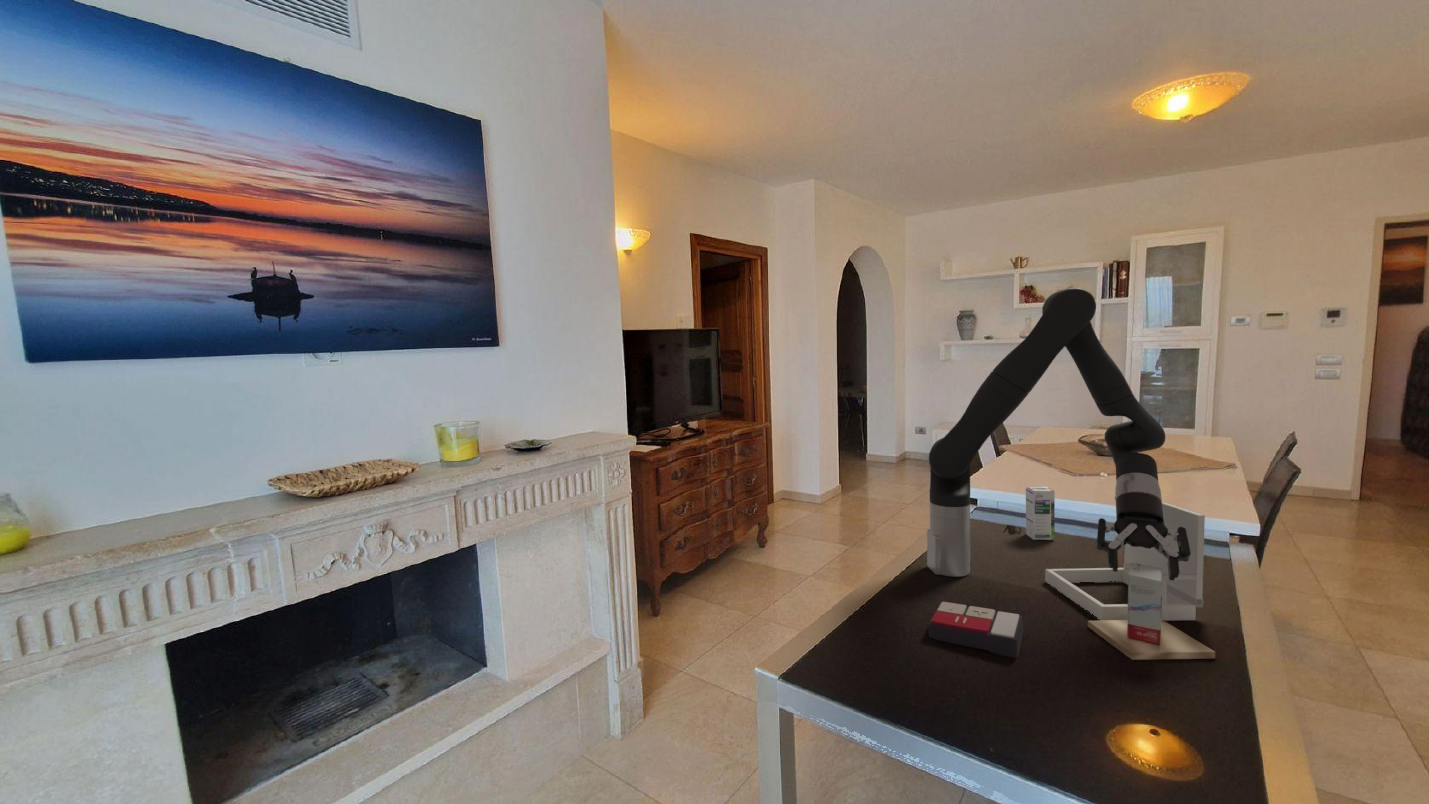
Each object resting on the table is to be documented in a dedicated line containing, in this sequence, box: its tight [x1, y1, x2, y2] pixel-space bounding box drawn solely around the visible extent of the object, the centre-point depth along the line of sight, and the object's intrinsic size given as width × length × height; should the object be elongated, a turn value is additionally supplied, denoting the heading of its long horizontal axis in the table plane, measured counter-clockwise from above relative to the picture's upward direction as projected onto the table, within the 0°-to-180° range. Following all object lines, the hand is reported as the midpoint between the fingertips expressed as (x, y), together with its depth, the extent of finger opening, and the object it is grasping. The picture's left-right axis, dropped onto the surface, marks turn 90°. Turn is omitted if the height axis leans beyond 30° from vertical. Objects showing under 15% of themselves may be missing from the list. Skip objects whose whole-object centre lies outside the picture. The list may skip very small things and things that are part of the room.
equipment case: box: [1044, 501, 1206, 622], centre depth 118 cm, size 19×20×21 cm
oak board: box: [1087, 619, 1216, 661], centre depth 102 cm, size 14×12×1 cm
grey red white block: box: [927, 601, 1024, 659], centre depth 106 cm, size 11×4×15 cm
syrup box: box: [1025, 486, 1056, 541], centre depth 160 cm, size 6×6×14 cm
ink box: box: [1127, 563, 1162, 645], centre depth 102 cm, size 9×5×12 cm, turn 141°
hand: (1143, 574), depth 104 cm, fingers open, 8 cm apart
